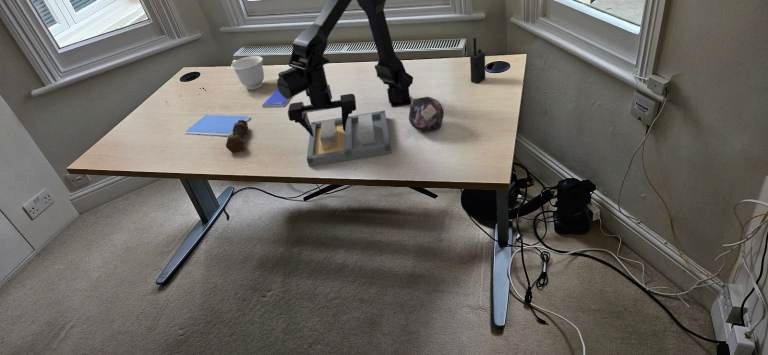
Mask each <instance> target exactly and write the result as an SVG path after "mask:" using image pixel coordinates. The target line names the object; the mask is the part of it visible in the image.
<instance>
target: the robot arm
mask: <svg viewBox="0 0 768 355" xmlns="http://www.w3.org/2000/svg"><path fill="white" fill-rule="evenodd" d="M352 1H353V0H328V1H327V2H326V4H325V6H324V7H323V8H322V10H321V11H320V13H319V14H318V16H317V17H316V18H315V20H314V22H313V23H312V24H311V25H310V26H308V28H306V29H304V30H303V31H302V32H301V33H299V35H298V36H297V37H296V38H295V39H294V40H293V43H292V52H291V54H290V58H289V62H288V67H290V68H288V69H287V70H282V71H280V72H278V73H277V74H278V75H277V76H278V78H277V79H276V81H277V82H276V87H277V89H278V90H279V92H280V93H281V95H282V96H283V97H284V98H286V99H289V98H291V99H292V98H294V97H295V96H297V95H299V94H301V93H303V92H305V94H306V97H308V98H309V101H310V104H308V105H305V104H304V101H298V102H292V103H290V104H289V106H288V109H287V116H288V120H289V121H290V122H294V123H298V124H300V125H301V126H302V128H304V129H305V130H306V131H307V133H308V134H309V136H310V135H311V136H312V137H313V136H314V134H313V130H312V127H311V122H310V120H309V117H308V113H313V112H318V111H319V112H320V111H324V110H331V109H337V108H341V109H340V110H341V118H342V124H343V130H344V131H345V129H346V122H347V118H348V116H350V115H351V114H352V113H353V112H354V111H357V100H356V95H355V94H354V93H349V94H348V93H347V94H342V95H340V99H338V100H332V99H333V95H332V92H331V85H330V84H328V81H327V80H328V79H327V75H326V71H325V67H324V66H325V65H326V64H329V63H330V60H329V59H328V58H326V57H325V56H324V53H325V51H326V50H327V48H328V47H327V46H328V38H329V36H330V34H331V33H332V31H333V29H334V28H335V27H336V25H337V24H338V22H339V21H340V19H341V18H342V16H343V15H344V13H345V11H346V10H347V9H348V7H349V5H350V4H351V3H352ZM356 2H357V5H358V6H359V8H361V9H362V11H363V12H364V13H365V14H366V17H367V20H368V24H369V27H370V31H371V33H372V38H373V40H374V44H375V49H376V51H377V54H378V62H377V64H375V65H374V69H375V72H376V77H377V78H378V79H379V80H381V81H382V83H383V85H388V87H387V88H386V90H387V91H386V92H387V97H388V102H389V104H390V106H391V107H393V108H394V107H399V106H406V105H411V102H412V100H411V96H410V87H411V85H413V81H414V77H413V76H412V75H411V74H409V73H408V72H406V68H405V66H404V64H403V61H401V59H400V58H399V57H398V56H397V55H396V52H395V50H394V45H393V41H392V38H391V34H390V29H389V27H388V25H389V24H388V22H387V17H386V14H385V11H384V9H385V5H386V2H387V0H356ZM301 60H303V61H301ZM304 61H305V62H304Z"/></svg>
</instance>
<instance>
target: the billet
mask: <svg viewBox="0 0 768 355" xmlns="http://www.w3.org/2000/svg"><path fill="white" fill-rule="evenodd" d="M331 119H332V120H329V119H325V120H326V121H323V120H321V121H322V122H321V133H320V140H321V144H322V148H323V150H328V149H334V148H337V133H338V131H337V126H336V122H335V119H336V118H331Z"/></svg>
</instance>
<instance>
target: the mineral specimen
mask: <svg viewBox="0 0 768 355" xmlns="http://www.w3.org/2000/svg"><path fill="white" fill-rule="evenodd" d="M408 114H409V115H408V121H409V124H410V125H411V127H412V128H414V129H415V130H417V131H420V132H421V133H429V132H434V131H438V130H440V129H441V127H442V125H443V120H444V115H445V114H444V108H443V105H442V104H441V103H440V101H439V100H437V99H435V98H433V97H431V96H424V97H417V98H415V99H413V100H411V104H410V106H409V113H408Z"/></svg>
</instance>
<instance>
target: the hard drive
mask: <svg viewBox="0 0 768 355" xmlns="http://www.w3.org/2000/svg"><path fill="white" fill-rule="evenodd" d="M291 99H292V97H291V98H289V99H286V98H284V97H283V96H282V95H281V93H280V92H279V90H278V88H277V89H275V90H274V92H272V94H271V95H269V97H268V98H267V99H266V100H265V101H264V102H263V104H262V105H261V106H262V108H284V107H285V106H286V105H287V103H288V102H290V100H291Z"/></svg>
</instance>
